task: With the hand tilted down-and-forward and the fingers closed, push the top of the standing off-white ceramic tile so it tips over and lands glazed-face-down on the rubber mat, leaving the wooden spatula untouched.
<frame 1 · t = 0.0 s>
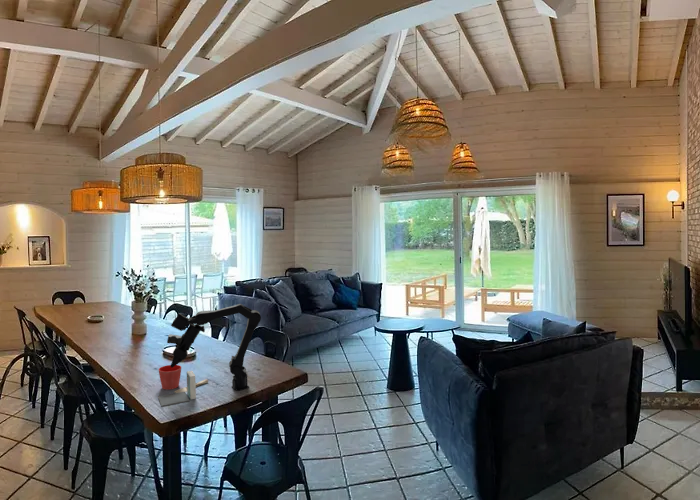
hand: (172, 364, 211), 15 cm above the table, tool tilted 35°, fingers open, 9 cm apart
mat: (173, 399, 206), on the table
flower pot: (170, 387, 222), on the table
spatula: (192, 387, 220), on the table, tilted 6°, touching mat
tile: (191, 396, 210), on the table
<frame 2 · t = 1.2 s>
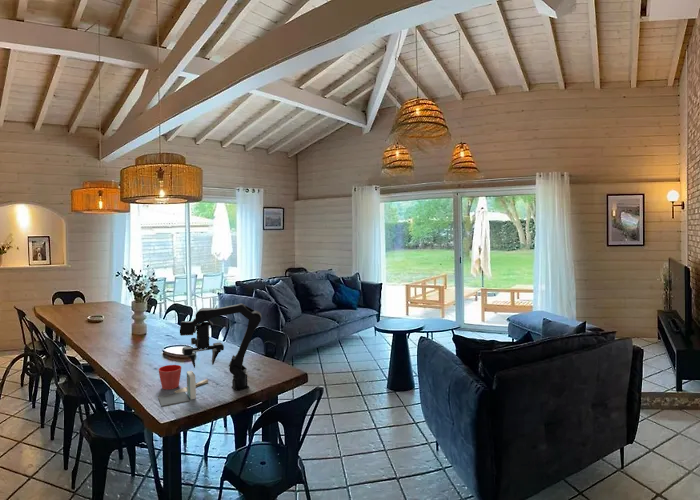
hand: (203, 366, 217), 12 cm above the table, tool pointing down, fingers open, 8 cm apart
nothing on the table moved.
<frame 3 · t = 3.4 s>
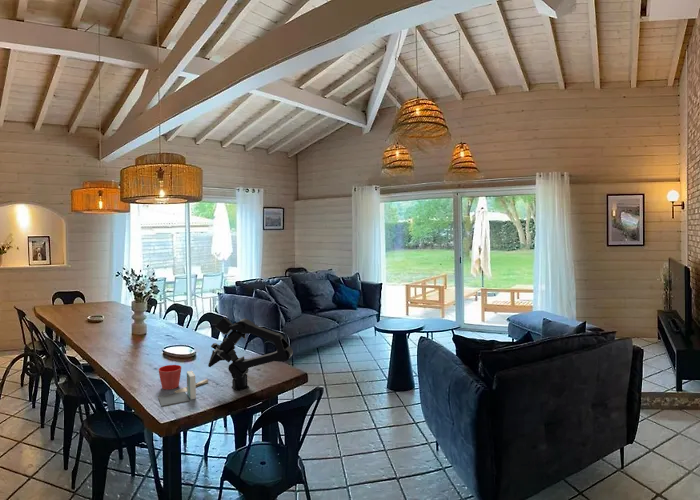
hand: (208, 366, 213), 13 cm above the table, tool tilted 45°, fingers closed
nothing on the table moved.
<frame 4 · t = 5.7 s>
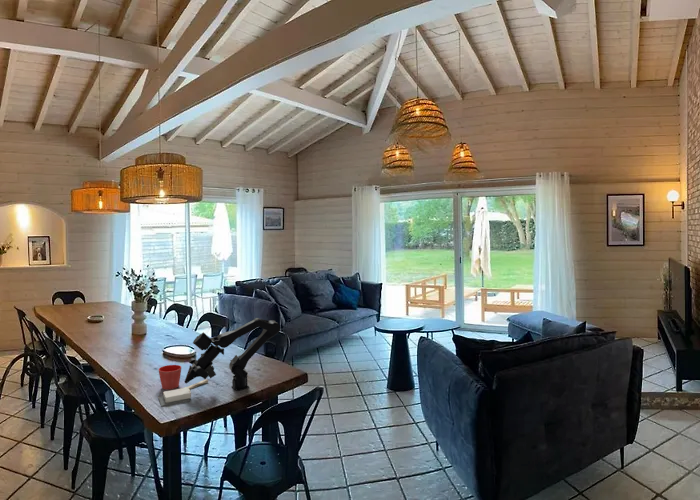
hand: (185, 382, 208), 7 cm above the table, tool tilted 45°, fingers closed
tile: (189, 392, 209), point 2 cm above the table, tilted 90°, touching mat
everything else where it was.
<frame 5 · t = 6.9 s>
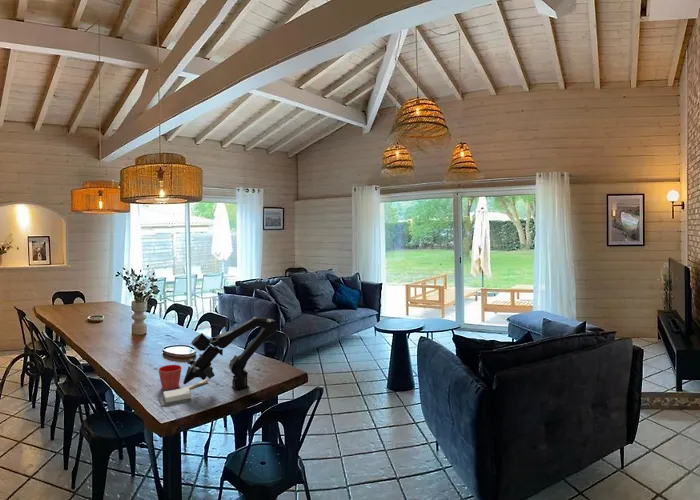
hand: (183, 383, 208), 7 cm above the table, tool tilted 45°, fingers closed
nothing on the table moved.
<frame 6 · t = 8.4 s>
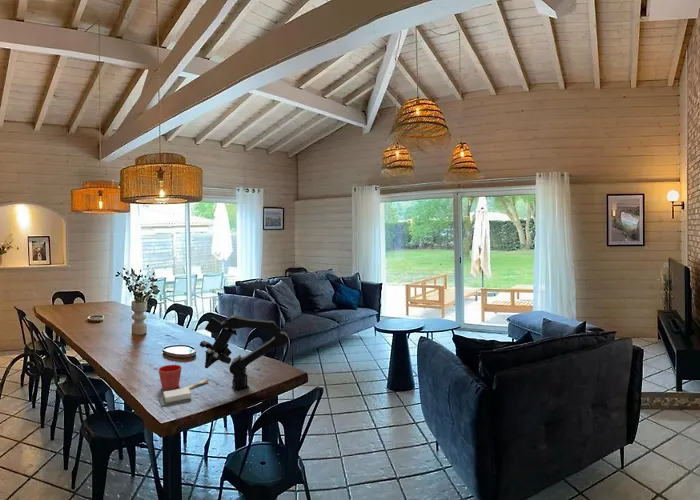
hand: (205, 368, 214), 12 cm above the table, tool tilted 30°, fingers closed
nothing on the table moved.
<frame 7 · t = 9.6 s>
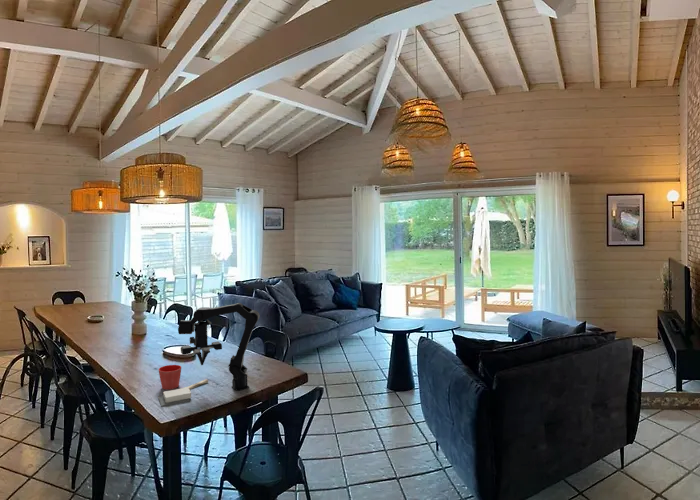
hand: (201, 365, 218), 12 cm above the table, tool pointing down, fingers closed
nothing on the table moved.
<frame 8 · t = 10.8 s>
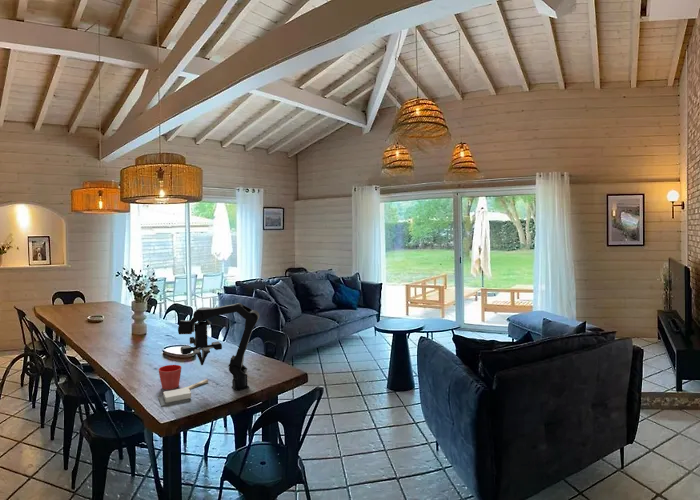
hand: (201, 365, 218), 12 cm above the table, tool pointing down, fingers closed
nothing on the table moved.
at the end: tile tilted 90°; tile 7.1 cm from the mat (horizontally); tile point 1.9 cm above the table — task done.
